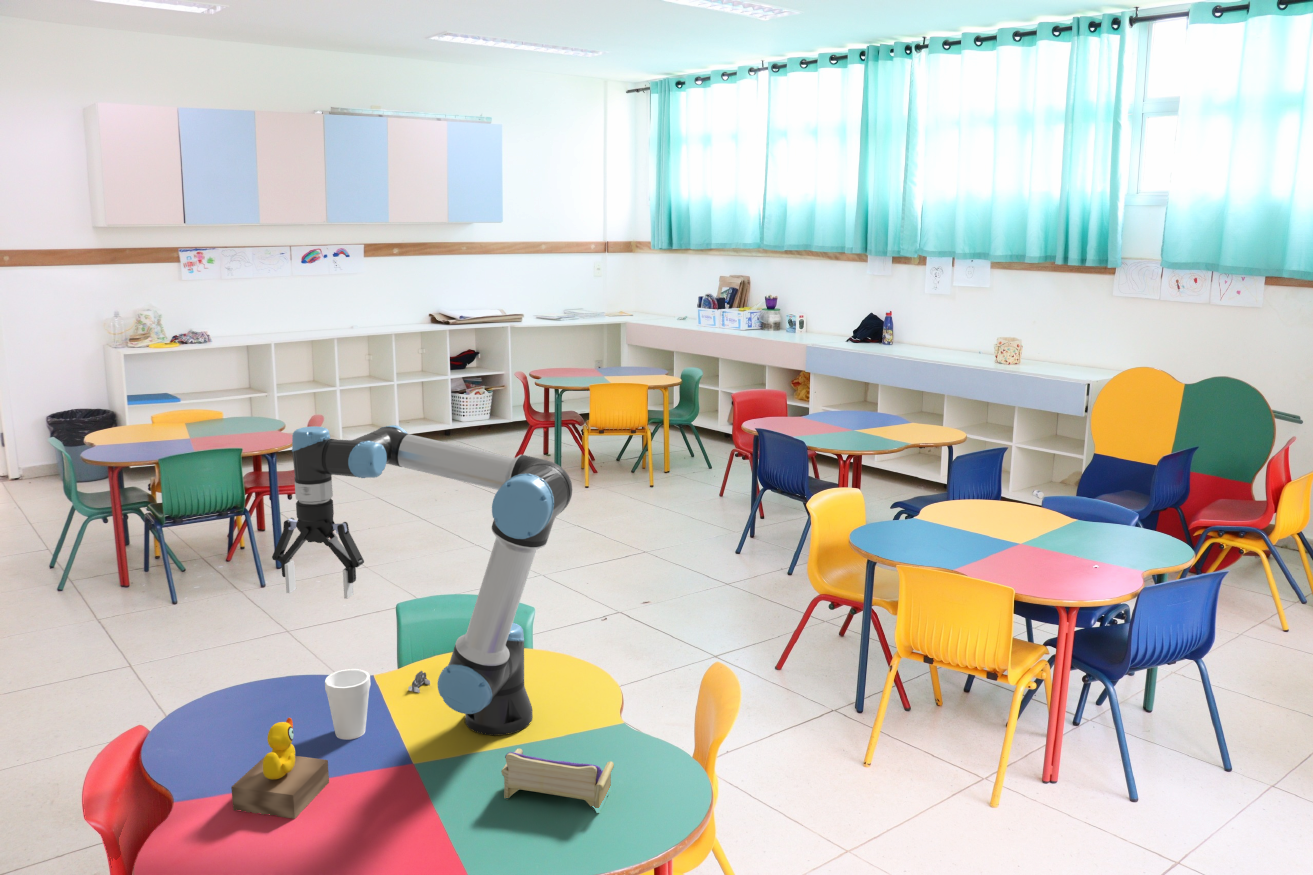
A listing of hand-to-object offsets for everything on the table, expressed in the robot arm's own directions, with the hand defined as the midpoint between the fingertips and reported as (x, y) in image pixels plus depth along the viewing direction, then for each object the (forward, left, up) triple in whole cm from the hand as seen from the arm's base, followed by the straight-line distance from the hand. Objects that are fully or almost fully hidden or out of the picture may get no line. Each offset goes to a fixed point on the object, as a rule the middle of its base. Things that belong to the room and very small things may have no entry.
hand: (319, 593), depth 222 cm
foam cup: (-6, +1, -32) cm, 32 cm away
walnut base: (-5, +27, -32) cm, 42 cm away
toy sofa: (-58, +15, -32) cm, 68 cm away
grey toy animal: (-12, -27, -32) cm, 44 cm away
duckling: (-5, +27, -27) cm, 38 cm away
